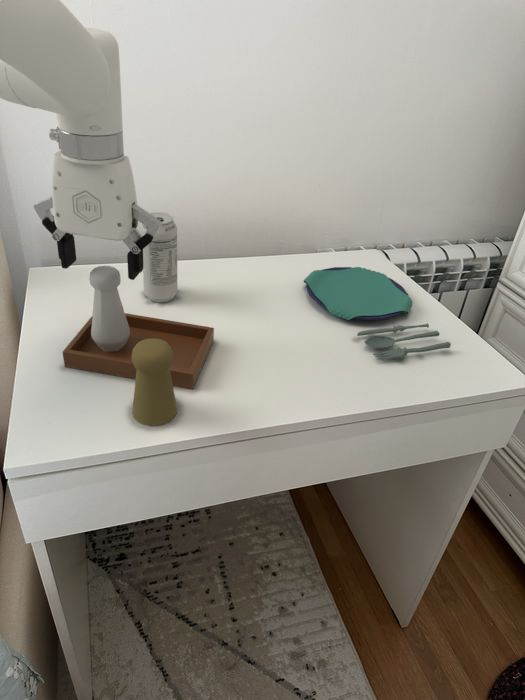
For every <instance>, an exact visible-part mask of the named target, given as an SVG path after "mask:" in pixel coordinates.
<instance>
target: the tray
mask: <svg viewBox="0 0 525 700" xmlns="http://www.w3.org/2000/svg"><path fill="white" fill-rule="evenodd" d="M125 316H126V319H127V322H128V325H129V328H130V336H129V338H128V340H127V342H126V345H125V346H124V347H122V348H121V349H120V350H119V351H113V352H105V351H103V350H102V349H100V348H99V347H98V346H97V345H96V343H95V342H94V340H93V339H92V336H91V328H92V317H93V315H91V317H90V318H89V319H88V320H87V322H86V323H85V324H84V325H83V326H82V328H80V330H79V331H78V332H77V334H76V335H75V336H74V337H73V338H72V340H71V341H70V342H69V343H68V344H67V346H66V347H65V348H64V349H63V351H62V357H63V358H62V359H63V364H64V368H68V369H69V368H71V369H75V370H80V371H87V372H92V373H99V374H103V375H109V376H114V377H119V378H126V379H132V380H136V371H137V369H136V368H135V367H134V365H133V362H132V351H133V348H134V347H135V346H136V344H137V343H139V342H140V341H142V340H145V339H151V338H153V339H161V340H163V341H165V342H167V343H168V344H169V345H170V347H171V349H172V351H173V362H172V365H171V366H170V374H171V379H172V384H173V387H176V388H177V387H178V388H182V389H183V388H184V389H188V390H194V388H195V385H196V384H197V381H198V379H199V376H200V374H201V372H202V370H203V367H204V365H205V363H206V360H207V358H208V356H209V353H210V351H211V349H212V346H213V345H214V344H213V343H214V339H215V337H214V335H215V328H214V327H211V326H210V327H209V326H205V325H200V324H199V325H198V324H193V323H187V322H180V321H175V320H168V319H164V318H163V319H162V318H156V317H151V316H150V317H149V316H145V315H138V314H132V313H127V312H125Z"/></svg>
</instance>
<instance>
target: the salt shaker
mask: <svg viewBox="0 0 525 700" xmlns="http://www.w3.org/2000/svg"><path fill="white" fill-rule="evenodd" d="M121 280H122V279H121V273H120V270H118V269H117V268H116V267H115V266H111V265H99V266H96V267H94V268H93V269H92V270H91V271H90V272H89V284H90V286H91V287H92V288H93V289H94V291H93V293H94V294H93V305H92V306H93V307H92V316H93V317H92V316H91V317H92V328H91V336H92V339H93V340H94V342H95V343H96V345H97V346H98V347H99V348H100V349H102V350H103V351H105V352H113V351H119V350H120V349H121V348H122V347H124V346H125V345H126V342H127V340H128V338H129V336H130V328H129V325H128V322H127V319H126V316H125V313H126V312H125V310H124V306H123V303H122V300H121V297H120V293H119V290H118V287H119V286H120V285H121V282H122V281H121Z"/></svg>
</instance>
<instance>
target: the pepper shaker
mask: <svg viewBox="0 0 525 700" xmlns="http://www.w3.org/2000/svg"><path fill="white" fill-rule="evenodd" d="M132 362H133V365H134V367H135V368H136V369H137V371H136V379H135V381H134V390H133V403H132V413H131V414H132V417H133V419H135V420H136V422H138V423H139V424H141V425H144V426H150V427H159V426H162V425H165V424H167V423H170V422H171V421H172V420H173V419H174V418H175V417H176V415H177V414H178V407H177V401H176V396H175V390H174V386H173V384H172V379H171V374H170V366H171V365H172V362H173V351H172V349H171V347H170V345H169V344H168V343H167V342H165V341H163V340H161V339H153V338H151V339H145V340H142V341H140V342H139V343H137V344H136V346H135V347H134V348H133V351H132Z"/></svg>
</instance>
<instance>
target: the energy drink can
mask: <svg viewBox="0 0 525 700" xmlns="http://www.w3.org/2000/svg"><path fill="white" fill-rule="evenodd" d="M149 213H150V214H151V215H153V216H154V217H156V218H157V219H159V220H160V221H161V222H162V226H161V228H160V229H159V231H158V233H157V234H156V236H155V238H154V239H153V240H152V242H151V243H150V244H148V245H147V246H146V247H145V248H144V249H143V265H144V266H143V270H142V274H143V275H142V279H143V292H144V295H145V296H146V297H147V298H148V300H150V301H152V302H154V303H167V302H170V301H172V300H173V299H174V298H175V296H176V295H177V294H178V226H177V225H176V223H175V221H174V216H173V215H171V214H169V213H165V212H149ZM140 231H141V232H140V234H141V235H142V236H143V235H145V233H146V231H147V227H146V226H145V225H144V224H142V223H141V226H140Z"/></svg>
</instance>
